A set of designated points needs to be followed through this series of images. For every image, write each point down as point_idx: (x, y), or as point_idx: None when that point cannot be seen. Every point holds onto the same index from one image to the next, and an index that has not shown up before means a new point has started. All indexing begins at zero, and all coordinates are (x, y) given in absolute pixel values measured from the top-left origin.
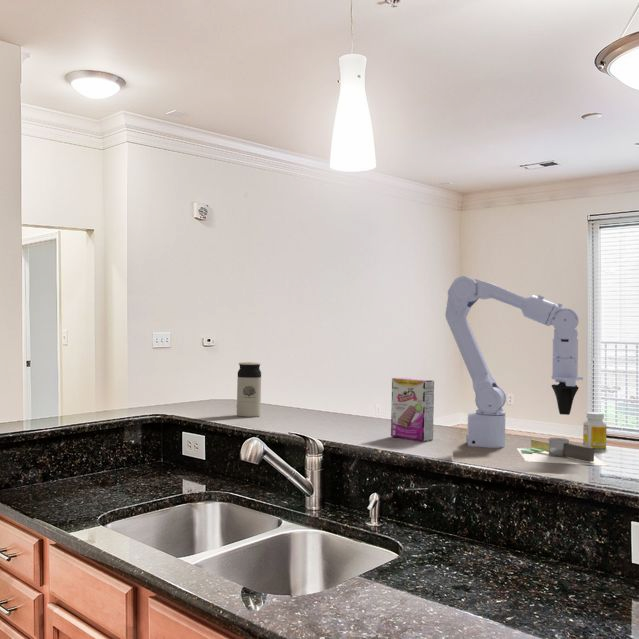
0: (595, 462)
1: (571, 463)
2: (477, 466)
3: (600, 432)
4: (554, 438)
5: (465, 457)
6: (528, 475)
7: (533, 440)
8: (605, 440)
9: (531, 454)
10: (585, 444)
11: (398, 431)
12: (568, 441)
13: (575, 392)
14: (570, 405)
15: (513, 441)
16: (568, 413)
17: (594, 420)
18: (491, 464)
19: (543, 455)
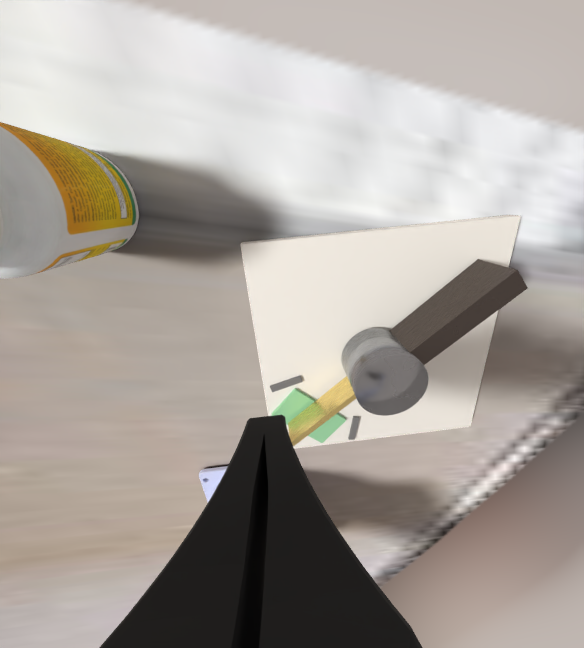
0: (466, 251)
1: (491, 326)
2: (478, 489)
3: (73, 175)
4: (383, 399)
5: (383, 514)
6: (568, 410)
7: (301, 438)
8: (67, 144)
9: (367, 417)
10: (111, 248)
11: None
12: (411, 354)
13: (376, 585)
14: (297, 463)
15: (63, 455)
16: (285, 424)
17: (1, 214)
18: (453, 472)
19: None
